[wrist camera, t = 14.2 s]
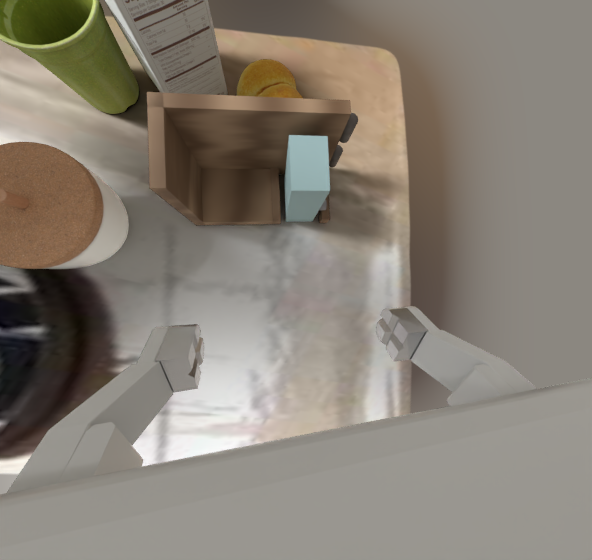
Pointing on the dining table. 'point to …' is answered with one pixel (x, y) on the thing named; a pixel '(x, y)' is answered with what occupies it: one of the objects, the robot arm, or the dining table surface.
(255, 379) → the dining table surface
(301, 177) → the pale teal box
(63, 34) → the plant pot
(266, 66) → the bread roll
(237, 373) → the dining table surface
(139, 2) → the supplement box
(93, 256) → the lidded jar
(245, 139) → the carcass
